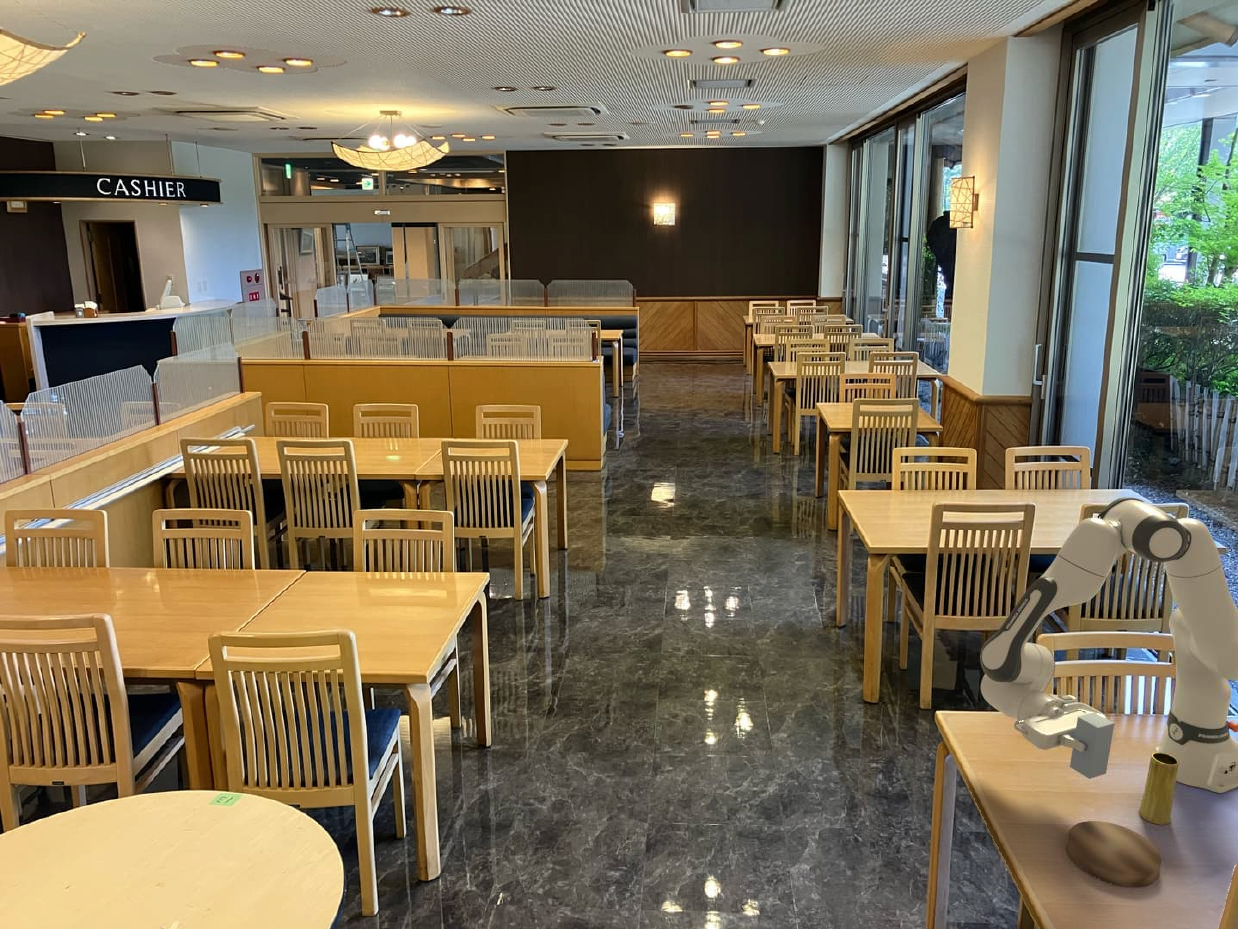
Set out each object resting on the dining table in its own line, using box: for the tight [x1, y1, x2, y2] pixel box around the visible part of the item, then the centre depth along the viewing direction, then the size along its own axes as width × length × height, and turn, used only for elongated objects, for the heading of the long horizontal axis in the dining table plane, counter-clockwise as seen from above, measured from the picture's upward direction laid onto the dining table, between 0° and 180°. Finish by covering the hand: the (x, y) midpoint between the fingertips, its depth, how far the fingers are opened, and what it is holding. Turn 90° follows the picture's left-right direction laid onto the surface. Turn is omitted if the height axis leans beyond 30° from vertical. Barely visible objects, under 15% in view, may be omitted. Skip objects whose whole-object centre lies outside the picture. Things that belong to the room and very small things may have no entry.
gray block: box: [1069, 712, 1115, 780], centre depth 208 cm, size 5×5×12 cm
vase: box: [1138, 751, 1179, 826], centre depth 211 cm, size 6×6×14 cm
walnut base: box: [1065, 820, 1163, 888], centre depth 198 cm, size 17×17×3 cm
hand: (1095, 745), depth 207 cm, fingers closed on gray block, 5 cm apart
